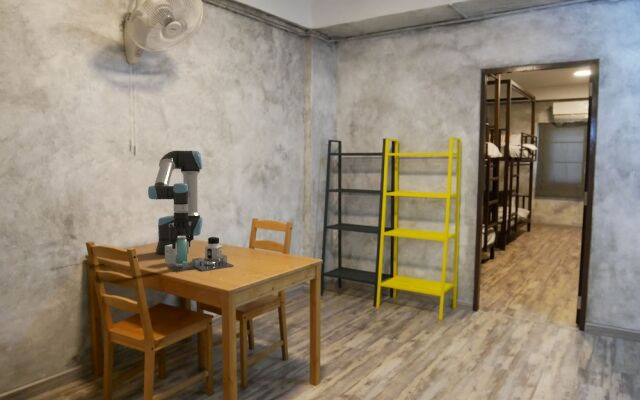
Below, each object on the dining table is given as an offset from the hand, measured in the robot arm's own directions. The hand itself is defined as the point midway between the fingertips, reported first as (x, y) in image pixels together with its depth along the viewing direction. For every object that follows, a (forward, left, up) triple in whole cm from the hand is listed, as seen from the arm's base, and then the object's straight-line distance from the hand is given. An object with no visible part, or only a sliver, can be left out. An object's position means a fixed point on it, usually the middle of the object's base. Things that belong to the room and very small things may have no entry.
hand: (181, 253), depth 249 cm
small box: (-13, +1, -8) cm, 16 cm away
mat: (0, 0, -8) cm, 8 cm away
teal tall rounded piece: (0, 0, -5) cm, 5 cm away
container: (-11, +25, -8) cm, 29 cm away
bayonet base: (+4, +15, -8) cm, 18 cm away
